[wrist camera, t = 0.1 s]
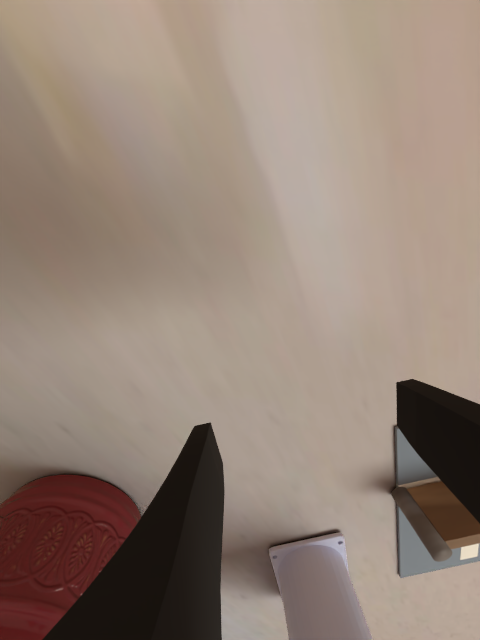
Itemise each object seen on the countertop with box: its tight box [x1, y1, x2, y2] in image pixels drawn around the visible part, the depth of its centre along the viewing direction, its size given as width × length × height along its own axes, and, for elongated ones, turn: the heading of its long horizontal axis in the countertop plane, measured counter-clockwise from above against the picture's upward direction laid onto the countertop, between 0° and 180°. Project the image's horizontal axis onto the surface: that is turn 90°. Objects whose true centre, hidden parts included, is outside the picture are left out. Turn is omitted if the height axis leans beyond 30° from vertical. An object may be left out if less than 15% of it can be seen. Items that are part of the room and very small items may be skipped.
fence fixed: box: [392, 481, 480, 562], centre depth 22 cm, size 2×10×5 cm, turn 103°
